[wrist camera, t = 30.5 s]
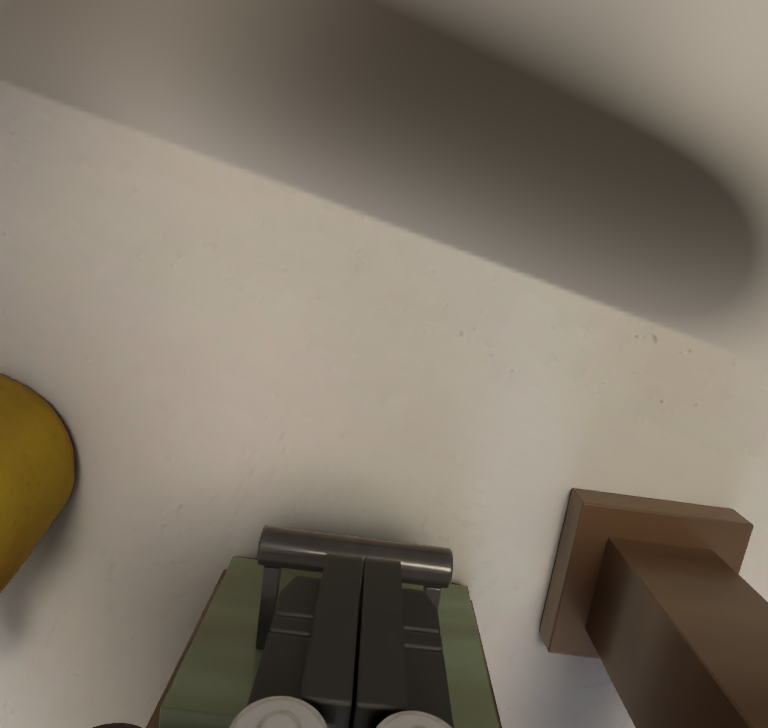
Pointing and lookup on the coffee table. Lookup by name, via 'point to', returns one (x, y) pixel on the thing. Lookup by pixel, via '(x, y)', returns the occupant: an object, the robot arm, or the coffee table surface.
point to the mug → (29, 472)
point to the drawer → (257, 607)
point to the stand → (662, 609)
